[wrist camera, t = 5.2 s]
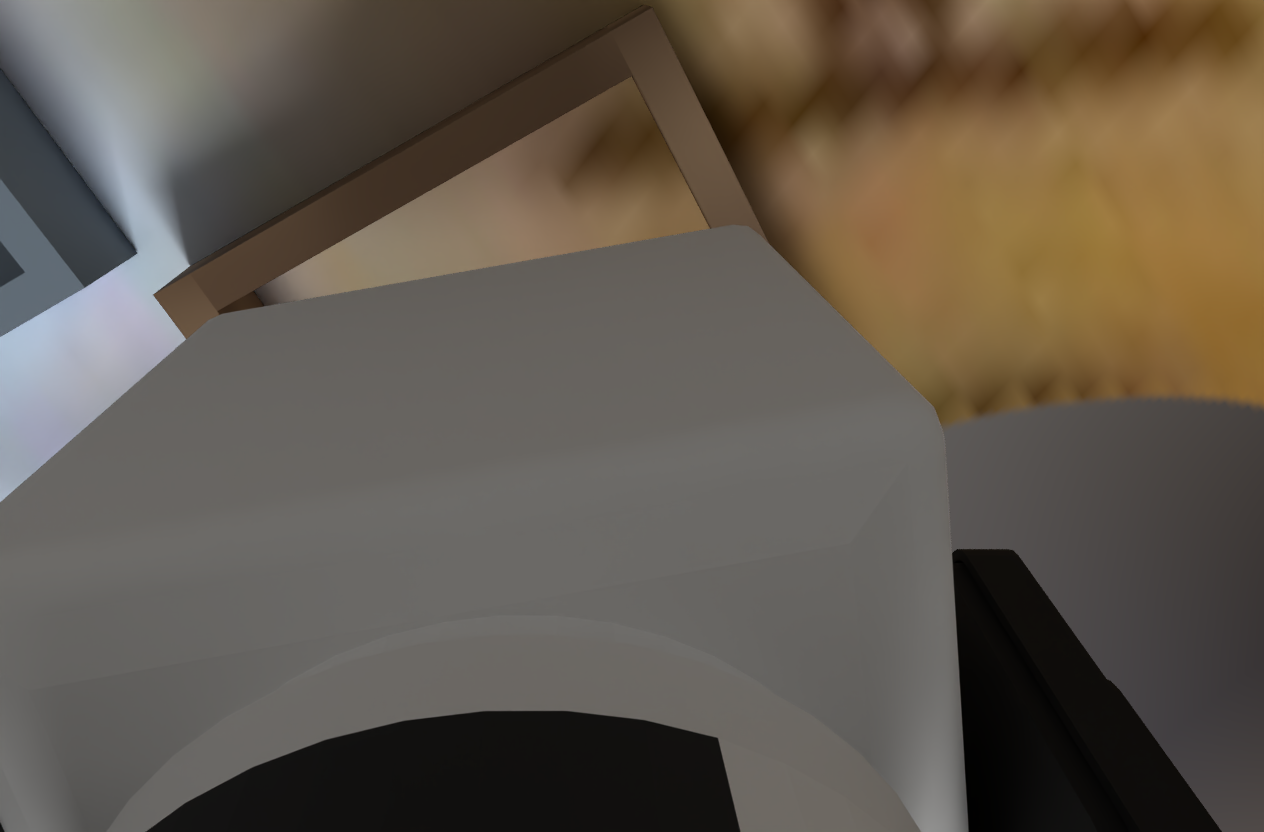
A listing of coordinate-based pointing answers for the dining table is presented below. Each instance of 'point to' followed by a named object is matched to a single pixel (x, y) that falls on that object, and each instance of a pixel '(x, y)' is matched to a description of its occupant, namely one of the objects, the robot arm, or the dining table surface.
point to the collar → (463, 144)
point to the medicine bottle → (495, 568)
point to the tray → (46, 220)
